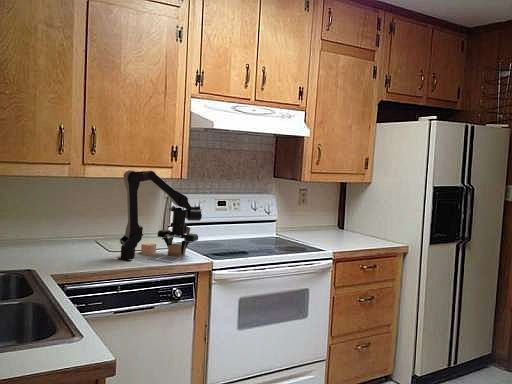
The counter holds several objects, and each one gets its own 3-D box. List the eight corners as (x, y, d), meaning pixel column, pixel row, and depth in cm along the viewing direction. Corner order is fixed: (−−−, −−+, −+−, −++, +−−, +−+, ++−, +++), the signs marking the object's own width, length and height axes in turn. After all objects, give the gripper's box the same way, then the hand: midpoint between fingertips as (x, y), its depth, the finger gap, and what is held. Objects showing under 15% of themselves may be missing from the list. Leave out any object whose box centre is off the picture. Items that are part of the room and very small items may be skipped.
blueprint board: (170, 264, 215) (170, 263, 215) (146, 260, 219) (146, 259, 219) (189, 257, 232) (189, 255, 232) (167, 253, 236) (167, 252, 236)
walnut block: (179, 257, 226) (179, 247, 226) (167, 255, 228) (168, 245, 228) (185, 255, 232) (185, 245, 231) (173, 253, 234) (174, 243, 233)
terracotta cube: (150, 256, 228) (150, 245, 227) (140, 254, 230) (141, 244, 229) (155, 254, 233) (156, 244, 232) (146, 252, 234) (147, 242, 234)
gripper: (204, 221, 233) (202, 253, 235) (169, 216, 239) (167, 248, 241) (193, 224, 223) (191, 257, 224) (157, 219, 229) (155, 251, 230)
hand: (176, 253), depth 230 cm, fingers closed on walnut block, 6 cm apart
